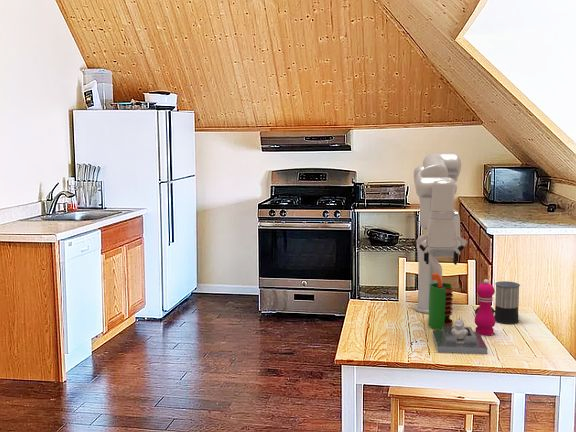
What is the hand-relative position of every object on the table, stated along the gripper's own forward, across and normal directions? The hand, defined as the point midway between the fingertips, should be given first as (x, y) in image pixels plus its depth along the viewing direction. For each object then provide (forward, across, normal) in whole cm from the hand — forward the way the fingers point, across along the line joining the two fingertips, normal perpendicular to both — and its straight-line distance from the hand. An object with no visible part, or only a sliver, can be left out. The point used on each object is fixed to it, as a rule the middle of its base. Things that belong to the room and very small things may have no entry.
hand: (440, 263), depth 222 cm
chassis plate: (+26, -6, +8) cm, 28 cm away
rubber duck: (+25, -6, +8) cm, 27 cm away
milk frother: (+28, -25, -24) cm, 45 cm away
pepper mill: (+27, -17, -5) cm, 32 cm away
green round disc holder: (+28, -2, -13) cm, 30 cm away
